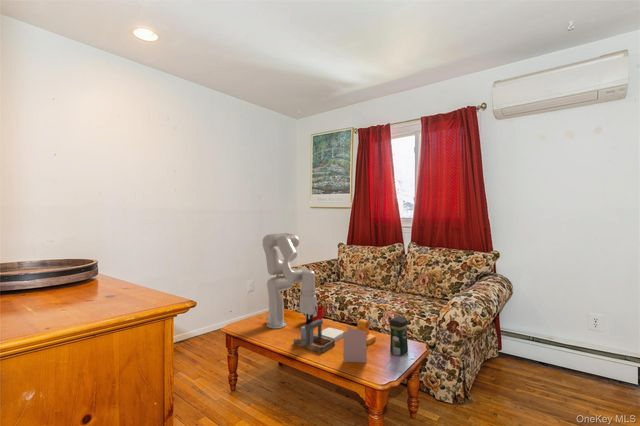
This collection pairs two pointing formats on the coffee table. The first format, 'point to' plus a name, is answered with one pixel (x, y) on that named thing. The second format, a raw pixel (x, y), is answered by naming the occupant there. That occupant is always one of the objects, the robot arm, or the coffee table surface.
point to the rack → (320, 349)
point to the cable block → (303, 334)
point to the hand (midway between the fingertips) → (309, 325)
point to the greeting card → (354, 346)
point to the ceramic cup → (319, 313)
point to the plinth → (332, 333)
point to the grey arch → (311, 326)
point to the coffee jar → (398, 336)
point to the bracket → (366, 330)
